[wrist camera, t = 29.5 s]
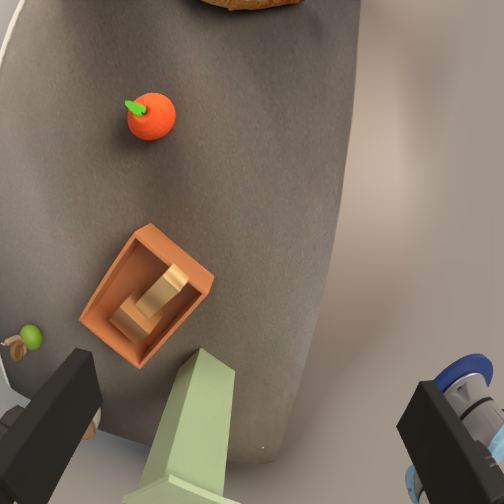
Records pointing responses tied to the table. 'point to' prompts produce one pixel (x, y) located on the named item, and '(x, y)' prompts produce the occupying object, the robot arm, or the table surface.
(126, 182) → the table surface
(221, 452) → the shelf stand
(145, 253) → the open box
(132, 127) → the clementine
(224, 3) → the croissant
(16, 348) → the snail figurine
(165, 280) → the mallet
